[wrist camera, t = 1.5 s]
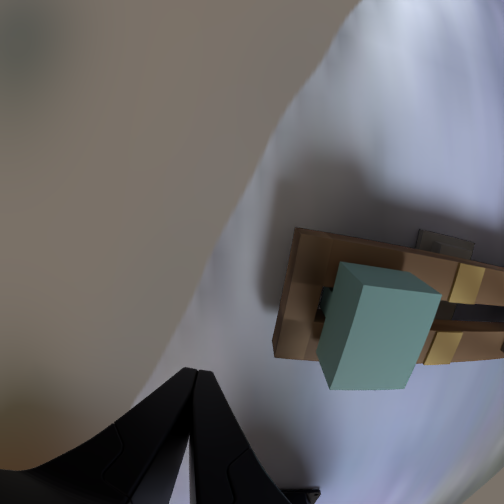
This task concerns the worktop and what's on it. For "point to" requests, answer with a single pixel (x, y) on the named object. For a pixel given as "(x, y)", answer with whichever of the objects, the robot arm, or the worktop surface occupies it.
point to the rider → (374, 327)
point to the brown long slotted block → (397, 258)
